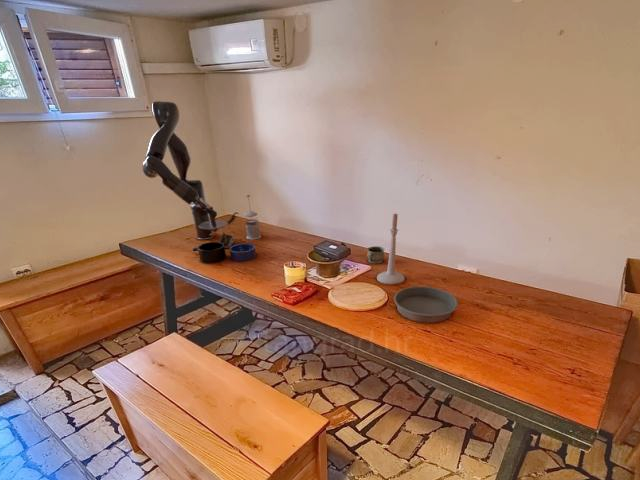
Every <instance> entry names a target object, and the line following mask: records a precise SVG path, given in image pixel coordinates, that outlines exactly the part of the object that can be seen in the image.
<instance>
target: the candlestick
mask: <svg viewBox="0 0 640 480" xmlns="http://www.w3.org/2000/svg"><path fill="white" fill-rule="evenodd" d="M398 214H399V213H393V214H392V222H391V223H392V224H391V229H389V231H390V235H391V237H390V246H389V255H388V262H387V268H386V269H387V270H386V271H382V272H380V273H379V274H377V276H376V280H377V281H378V282H379V283H381V284H384V285H399V284H402V283H404V282H405V276H404V275H403V274H402V273H401V272H398V271H396V245H397V244H396V241H397V240H396V239H397V238H396V237H397V234H398V231H399V229H397V227H398Z"/></svg>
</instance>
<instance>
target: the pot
mask: <svg viewBox="0 0 640 480" xmlns="http://www.w3.org/2000/svg"><path fill="white" fill-rule="evenodd" d="M230 247H231V246H224V244H223V243H220V241H210V242H205V243H201V244H200V245H198V246H197V247H193V248H192V252H198V256H199V260H200V262H201V263H202V264H207V265H210V264H218V263H222V262H223V261H225V260H227V251H226V250H229V249H230Z"/></svg>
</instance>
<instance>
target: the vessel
mask: <svg viewBox="0 0 640 480" xmlns="http://www.w3.org/2000/svg"><path fill="white" fill-rule="evenodd" d="M384 251H385V248H384V247H382V246H376V245H375V246H369V247H367V254H366V255H367V257H366V258H367V259H368V260H367V261H368V262H369V263H370V264H382V263H383V261H384V258H385V254H384Z"/></svg>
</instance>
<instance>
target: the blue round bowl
mask: <svg viewBox="0 0 640 480" xmlns="http://www.w3.org/2000/svg"><path fill="white" fill-rule="evenodd" d="M228 250H229V251H228V252H229V255H230V256H229V257H230V259H231V260H232V261H234V262H248V261H251V260H254V259H255V258H256V257H257V250H256V245H254V244H252V243H237V244H234V245H232V246H230V249H228Z"/></svg>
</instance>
